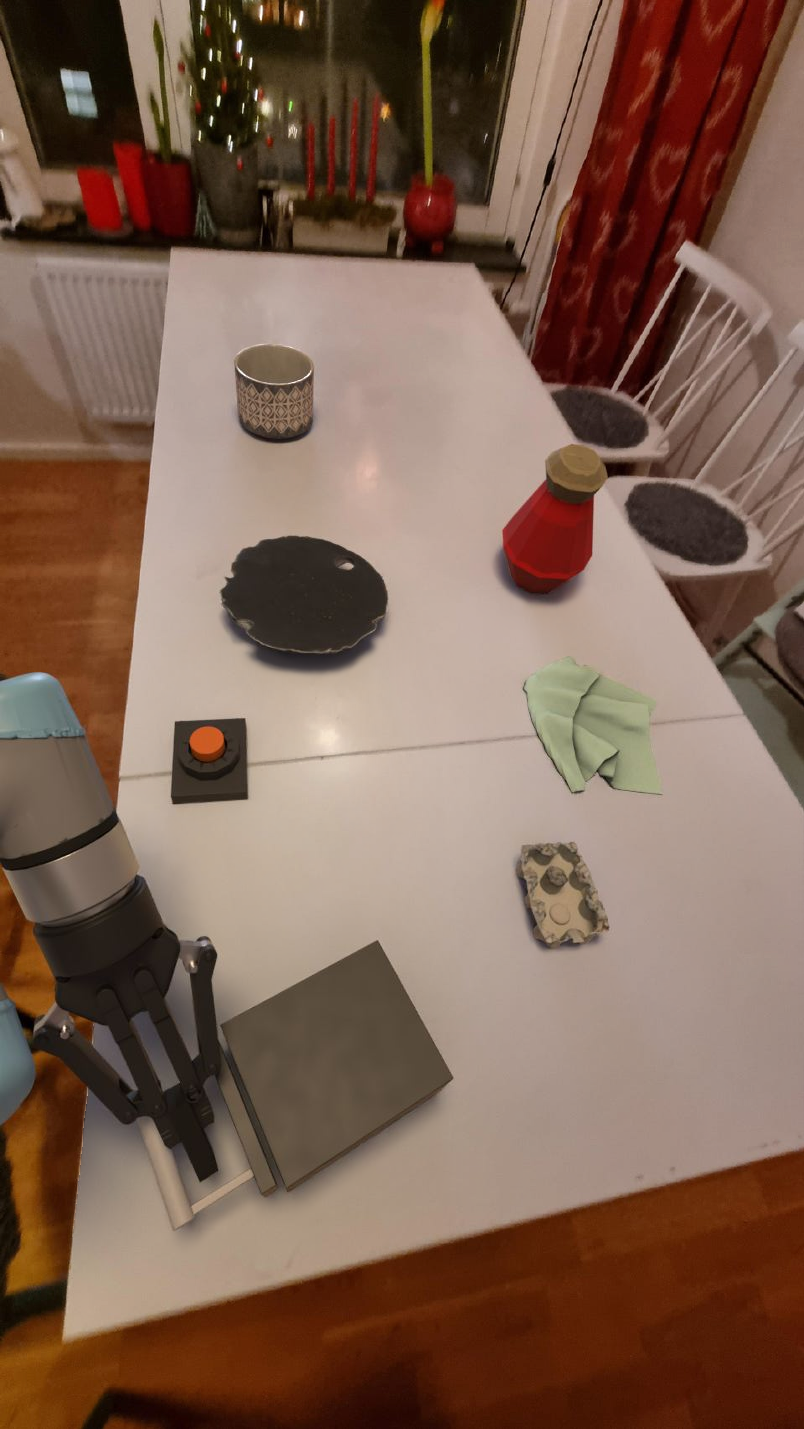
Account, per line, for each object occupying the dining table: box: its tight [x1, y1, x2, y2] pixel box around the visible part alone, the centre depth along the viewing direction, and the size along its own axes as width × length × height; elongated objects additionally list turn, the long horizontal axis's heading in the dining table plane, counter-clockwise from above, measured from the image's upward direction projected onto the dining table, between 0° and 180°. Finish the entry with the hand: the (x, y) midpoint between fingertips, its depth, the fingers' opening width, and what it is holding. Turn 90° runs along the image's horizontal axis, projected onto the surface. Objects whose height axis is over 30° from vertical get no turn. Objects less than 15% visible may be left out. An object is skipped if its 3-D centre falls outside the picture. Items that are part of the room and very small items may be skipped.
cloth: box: [522, 655, 663, 796], centre depth 88 cm, size 20×22×2 cm
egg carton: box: [515, 841, 610, 949], centre depth 73 cm, size 11×8×4 cm
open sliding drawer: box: [136, 1039, 279, 1232], centre depth 57 cm, size 20×11×7 cm, turn 120°
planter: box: [233, 343, 315, 440], centre depth 117 cm, size 13×13×10 cm
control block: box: [170, 717, 249, 805], centre depth 78 cm, size 10×8×4 cm
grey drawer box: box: [220, 939, 454, 1193], centre depth 59 cm, size 15×13×9 cm
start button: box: [190, 727, 225, 762], centre depth 76 cm, size 4×4×2 cm
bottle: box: [501, 443, 609, 596], centre depth 98 cm, size 16×14×20 cm
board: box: [219, 535, 389, 654], centre depth 93 cm, size 22×22×5 cm
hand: (206, 1163), depth 53 cm, fingers closed
